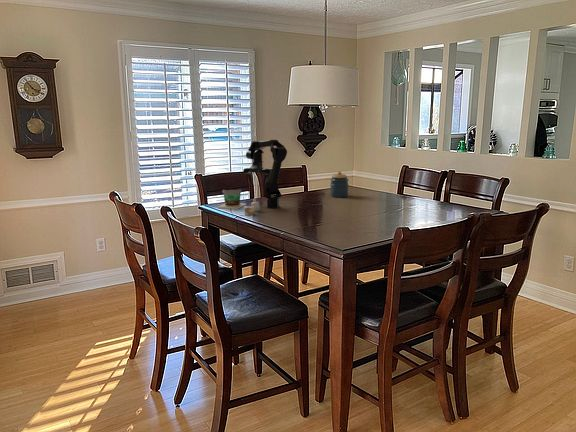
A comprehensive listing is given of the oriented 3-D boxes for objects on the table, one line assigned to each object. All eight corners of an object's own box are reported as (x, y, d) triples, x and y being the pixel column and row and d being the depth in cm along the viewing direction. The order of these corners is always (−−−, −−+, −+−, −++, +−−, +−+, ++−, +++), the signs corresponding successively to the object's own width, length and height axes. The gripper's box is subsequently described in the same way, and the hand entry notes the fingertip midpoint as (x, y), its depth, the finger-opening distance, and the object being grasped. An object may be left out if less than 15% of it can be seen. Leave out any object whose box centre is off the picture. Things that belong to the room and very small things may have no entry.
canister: (327, 195, 337) (327, 170, 334) (344, 194, 340) (344, 170, 337) (333, 198, 325) (333, 172, 321) (351, 197, 328) (351, 172, 324)
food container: (223, 206, 293) (222, 190, 291) (222, 204, 299) (222, 189, 297) (242, 205, 295) (242, 190, 293) (242, 203, 301) (241, 188, 299)
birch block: (254, 214, 275) (254, 206, 274) (251, 215, 271) (251, 207, 270) (247, 213, 277) (247, 206, 276) (244, 215, 272) (244, 207, 271)
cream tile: (245, 205, 303) (245, 203, 302) (236, 209, 290) (236, 207, 289) (227, 204, 307) (227, 202, 306) (218, 208, 294) (218, 206, 293)
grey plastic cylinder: (260, 210, 286) (260, 202, 285) (257, 211, 281) (257, 203, 280) (253, 209, 287) (252, 201, 286) (250, 211, 283) (249, 203, 282)
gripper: (239, 160, 297) (240, 185, 300) (266, 161, 291) (267, 186, 295) (246, 159, 307) (247, 182, 311) (272, 159, 302) (273, 183, 305)
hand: (258, 183), depth 305 cm, fingers open, 9 cm apart
